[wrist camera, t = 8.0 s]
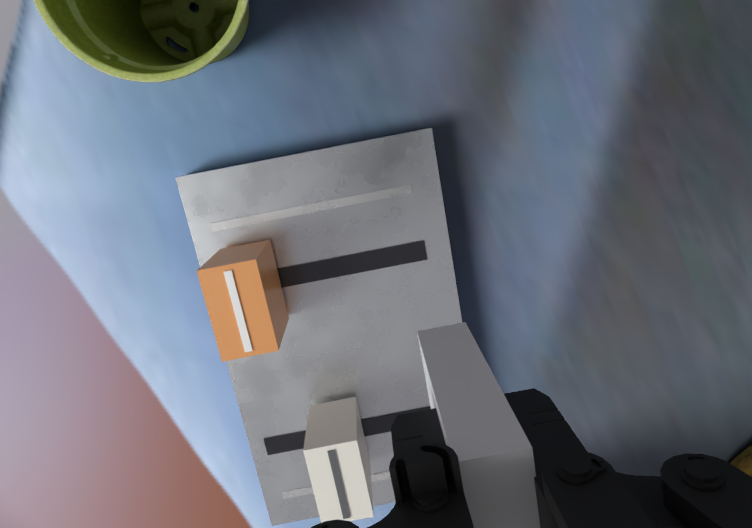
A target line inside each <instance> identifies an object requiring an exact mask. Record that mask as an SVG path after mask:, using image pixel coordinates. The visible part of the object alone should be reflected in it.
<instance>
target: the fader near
mask: <svg viewBox="0 0 752 528" xmlns="http://www.w3.org/2000/svg"><path fill="white" fill-rule="evenodd" d="M197 273H198V277H199V281H200V284H201V288H202V291H203V295H204V298H205V302H206V306H207V309H208V313H209V316H210V320H211V323H212V327H213V331H214V334H215V338H216V341H217V345H218V349H219V352H220V356H221V359H222V362H223V361H228V360H233V359H239V358H244V357H249V356H254V355H259V354H264V353H270V352H275V351H279V348H280V345H281V342H282V339H283V336H284V333H285V329H286V326H287V323H288V320H289V316H288V312H287V308H286V303H285V299H284V295H283V291H282V287H281V283H280V279H279V274H278V270H277V266H276V262H275V258H274V254H273V250H272V245H271V241H270V240H265V241H259V242H254V243H249V244H244V245H239V246H234V247H228V248H223V249H220V250H218V251H217V252H216V253H215V254H214V255H213V256H212V257H211V258H210V259H209V260H208V261H207V262H206V263H204V264H203V265H202V266H201V267H200V268H199V269H198V270H197Z"/></svg>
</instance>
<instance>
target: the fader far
mask: <svg viewBox="0 0 752 528" xmlns="http://www.w3.org/2000/svg"><path fill="white" fill-rule="evenodd" d="M303 452H304V456H305V460H306V464H307V468H308V472H309V476H310V480H311V484H312V488H313V492H314V496H315V500H316V504H317V508H318V512H319V516H320V520H321V523H322V522H324V521H330V520H337V519H338V520H345V521H354V520H359V519H364V518H369V517H374V513H373V497H372V481H371V465H370V460H369V455H368V451H367V446H366V441H365V437H364V432H363V427H362V423H361V418H360V414H359V409H358V404H357V400H356V397H352V398H347V399H341V400H336V401H331V402H326V403H321V404H316V405H310V407H309V413H308V420H307V427H306V434H305V441H304V448H303Z"/></svg>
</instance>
